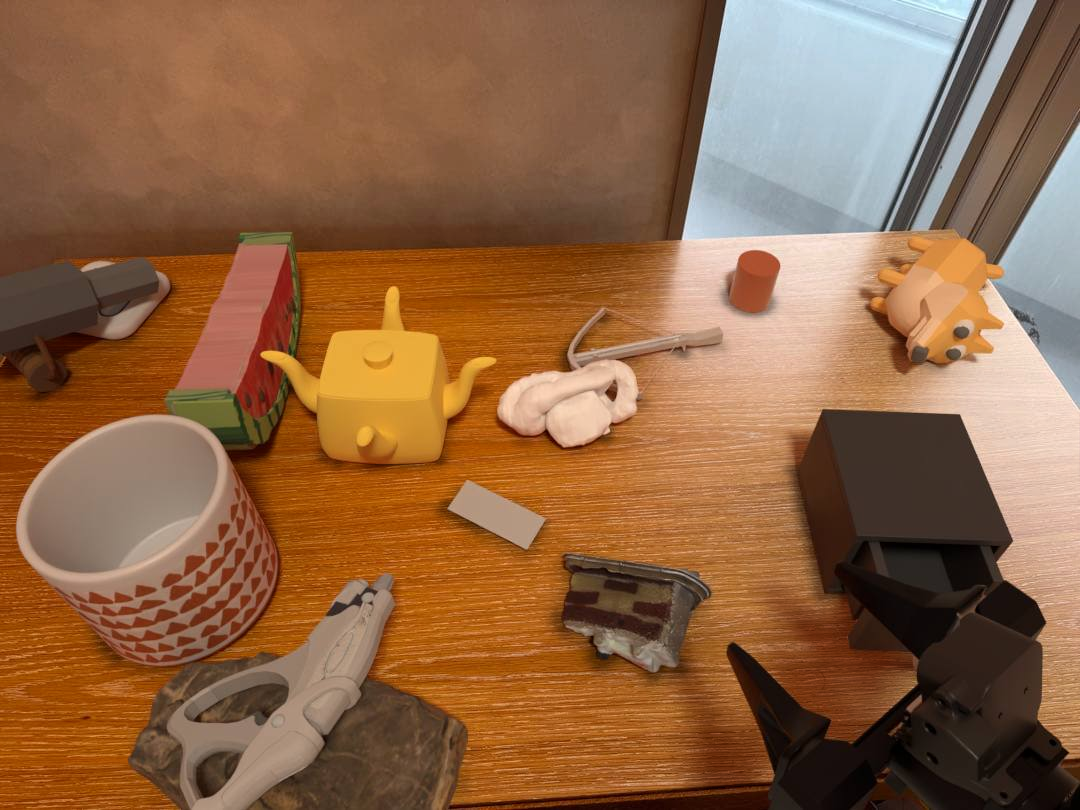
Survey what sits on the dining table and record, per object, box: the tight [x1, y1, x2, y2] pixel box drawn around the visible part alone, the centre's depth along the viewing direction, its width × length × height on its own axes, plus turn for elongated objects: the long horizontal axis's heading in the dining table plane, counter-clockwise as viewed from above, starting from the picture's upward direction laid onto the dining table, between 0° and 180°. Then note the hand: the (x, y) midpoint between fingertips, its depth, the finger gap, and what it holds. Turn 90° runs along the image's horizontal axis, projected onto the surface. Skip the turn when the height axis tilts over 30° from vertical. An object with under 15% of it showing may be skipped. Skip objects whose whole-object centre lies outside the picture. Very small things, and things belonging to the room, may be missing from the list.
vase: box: [15, 413, 279, 668], centre depth 60 cm, size 14×14×13 cm
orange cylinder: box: [728, 249, 781, 313], centre depth 89 cm, size 4×4×5 cm
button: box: [74, 260, 171, 341], centre depth 87 cm, size 10×2×10 cm
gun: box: [167, 572, 396, 810], centre depth 54 cm, size 3×19×10 cm
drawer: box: [844, 541, 1005, 672], centre depth 62 cm, size 16×10×7 cm, turn 179°
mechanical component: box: [0, 256, 159, 393], centre depth 80 cm, size 10×18×10 cm, turn 139°
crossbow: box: [566, 306, 724, 401], centre depth 84 cm, size 16×13×2 cm
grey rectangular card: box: [447, 479, 547, 550], centre depth 70 cm, size 3×8×1 cm, turn 59°
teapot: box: [260, 285, 497, 465], centre depth 73 cm, size 15×14×10 cm
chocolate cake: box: [561, 551, 714, 673], centre depth 63 cm, size 10×7×12 cm
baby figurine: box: [496, 359, 639, 448], centre depth 76 cm, size 9×12×8 cm
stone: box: [127, 651, 469, 810], centre depth 55 cm, size 13×21×5 cm, turn 61°
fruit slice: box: [163, 231, 302, 451], centre depth 76 cm, size 26×6×10 cm, turn 3°
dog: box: [869, 236, 1005, 365], centre depth 86 cm, size 8×20×13 cm
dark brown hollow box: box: [796, 408, 1014, 595], centre depth 68 cm, size 12×11×8 cm
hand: (784, 605), depth 49 cm, fingers open, 9 cm apart
